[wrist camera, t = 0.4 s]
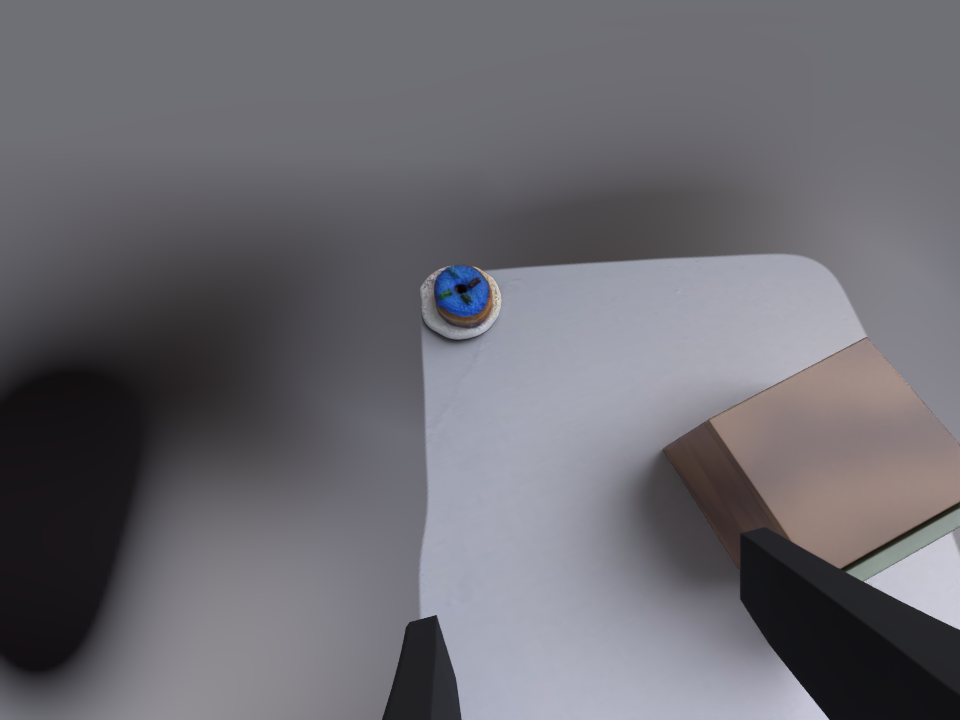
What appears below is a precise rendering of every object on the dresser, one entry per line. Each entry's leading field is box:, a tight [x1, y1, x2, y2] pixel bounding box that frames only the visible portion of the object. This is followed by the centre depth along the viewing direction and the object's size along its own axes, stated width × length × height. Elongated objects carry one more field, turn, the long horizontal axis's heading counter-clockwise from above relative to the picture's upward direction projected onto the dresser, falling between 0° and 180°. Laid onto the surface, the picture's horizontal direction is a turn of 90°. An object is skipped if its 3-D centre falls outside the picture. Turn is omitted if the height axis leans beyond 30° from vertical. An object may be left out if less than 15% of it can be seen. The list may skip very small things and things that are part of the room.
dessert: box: [419, 265, 502, 340], centre depth 45 cm, size 8×7×6 cm
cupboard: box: [663, 337, 960, 569], centre depth 34 cm, size 10×12×11 cm
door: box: [841, 502, 960, 582], centre depth 31 cm, size 6×12×10 cm, turn 118°
